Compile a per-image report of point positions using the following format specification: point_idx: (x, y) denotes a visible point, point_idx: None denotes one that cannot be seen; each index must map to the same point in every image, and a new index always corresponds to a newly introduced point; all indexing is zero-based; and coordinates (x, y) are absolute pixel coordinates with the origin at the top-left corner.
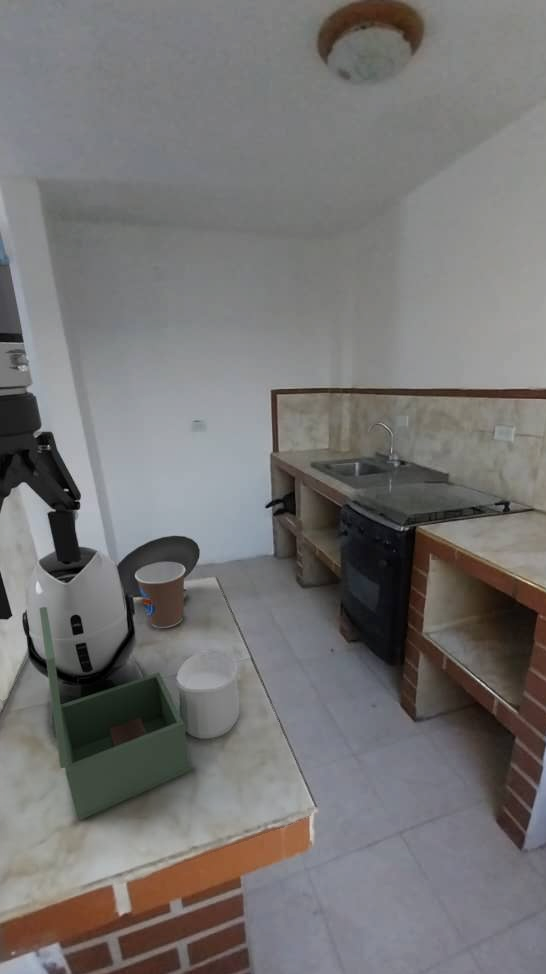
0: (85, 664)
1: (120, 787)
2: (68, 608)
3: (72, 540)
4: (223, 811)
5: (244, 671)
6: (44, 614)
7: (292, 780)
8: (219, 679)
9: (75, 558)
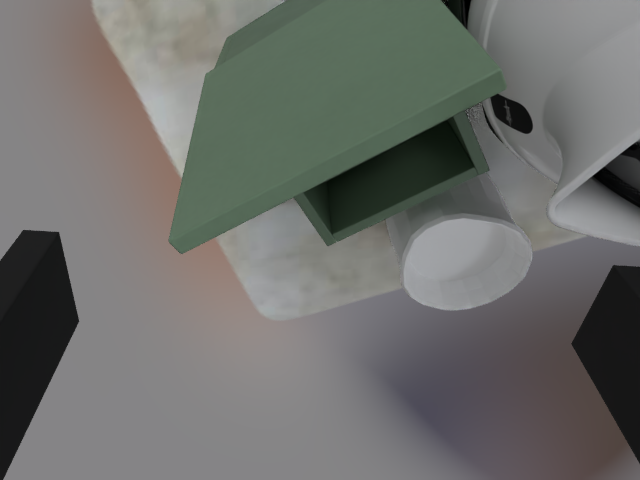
0: None
1: None
2: (548, 114)
3: (631, 436)
4: (255, 240)
5: (552, 237)
6: (440, 113)
7: (303, 310)
8: (463, 262)
9: (581, 351)
